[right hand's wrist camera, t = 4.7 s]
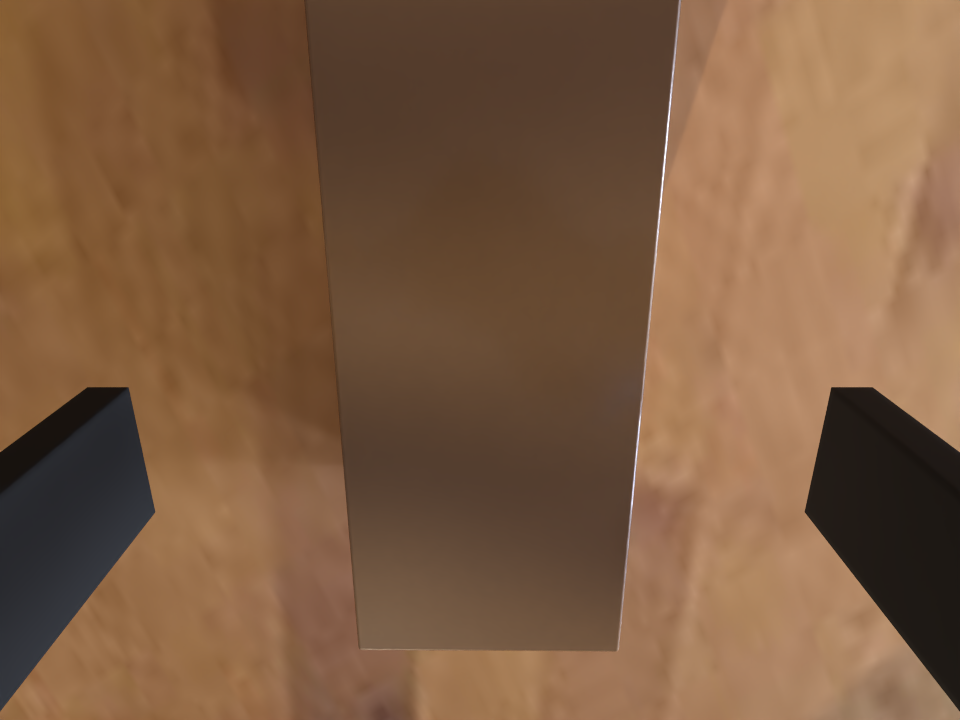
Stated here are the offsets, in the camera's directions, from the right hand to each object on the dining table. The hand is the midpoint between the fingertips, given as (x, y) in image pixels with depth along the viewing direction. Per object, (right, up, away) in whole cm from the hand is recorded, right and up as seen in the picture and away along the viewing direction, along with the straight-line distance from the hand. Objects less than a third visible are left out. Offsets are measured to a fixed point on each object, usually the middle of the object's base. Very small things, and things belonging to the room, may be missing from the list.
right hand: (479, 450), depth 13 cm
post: (0, +25, 0) cm, 25 cm away
